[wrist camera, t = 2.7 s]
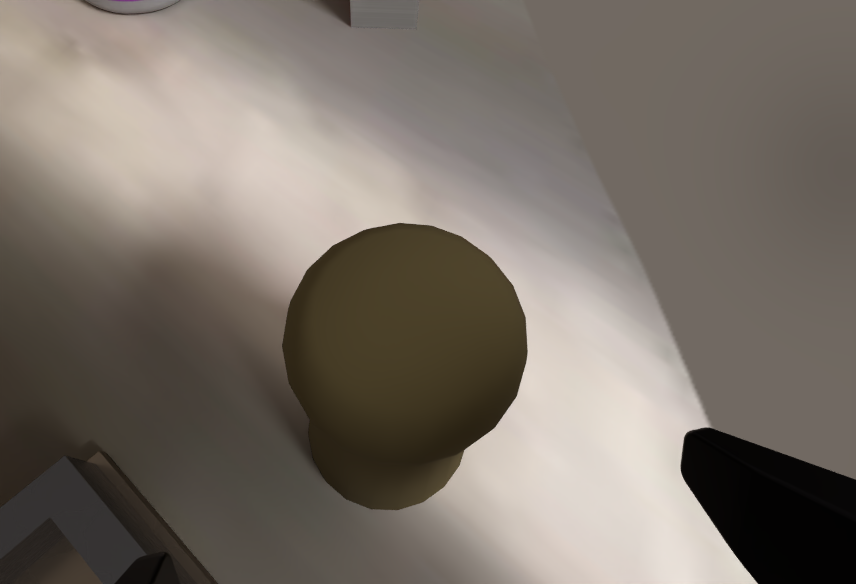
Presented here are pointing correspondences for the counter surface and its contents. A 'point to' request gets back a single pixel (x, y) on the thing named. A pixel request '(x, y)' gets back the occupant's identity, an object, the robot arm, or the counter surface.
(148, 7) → the supplement bottle
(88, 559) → the socket block
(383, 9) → the white gabled carton
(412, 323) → the cork
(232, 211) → the counter surface
